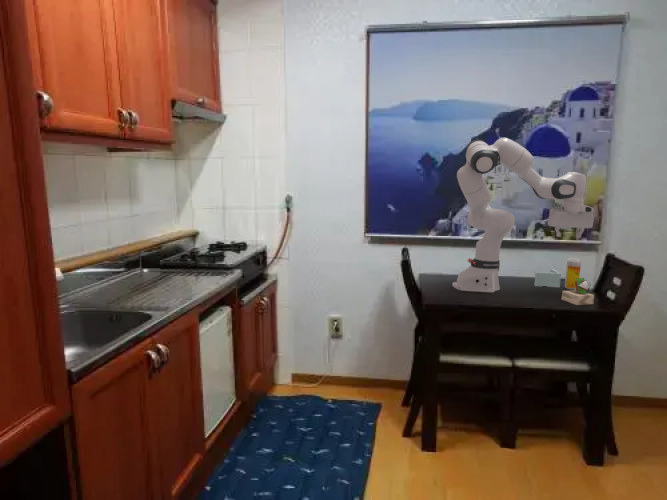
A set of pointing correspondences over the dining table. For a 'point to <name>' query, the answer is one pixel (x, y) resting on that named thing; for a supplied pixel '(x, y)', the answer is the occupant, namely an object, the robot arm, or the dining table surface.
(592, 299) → the oak base block
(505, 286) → the dining table surface
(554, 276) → the right angle wall
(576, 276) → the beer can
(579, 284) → the geometric puzzle
